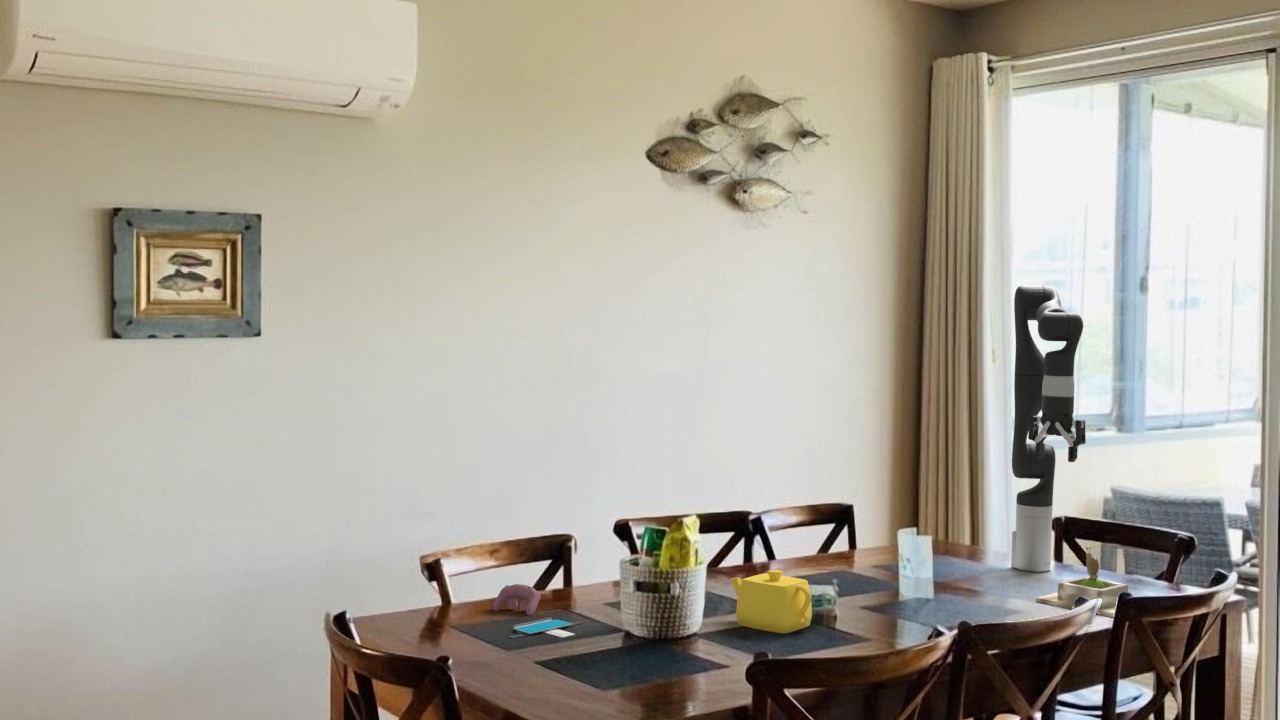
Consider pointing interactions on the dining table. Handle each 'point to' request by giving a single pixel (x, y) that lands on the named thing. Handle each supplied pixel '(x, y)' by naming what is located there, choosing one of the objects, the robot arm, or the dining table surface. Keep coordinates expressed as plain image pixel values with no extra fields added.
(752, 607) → the teapot
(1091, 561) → the snail figurine
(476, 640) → the dining table surface
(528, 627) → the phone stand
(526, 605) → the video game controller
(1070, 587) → the wooden box tray
